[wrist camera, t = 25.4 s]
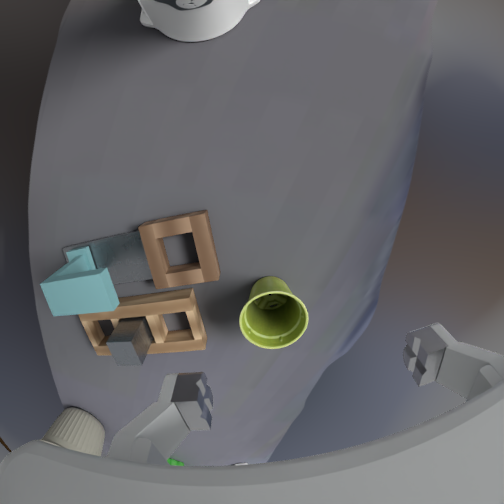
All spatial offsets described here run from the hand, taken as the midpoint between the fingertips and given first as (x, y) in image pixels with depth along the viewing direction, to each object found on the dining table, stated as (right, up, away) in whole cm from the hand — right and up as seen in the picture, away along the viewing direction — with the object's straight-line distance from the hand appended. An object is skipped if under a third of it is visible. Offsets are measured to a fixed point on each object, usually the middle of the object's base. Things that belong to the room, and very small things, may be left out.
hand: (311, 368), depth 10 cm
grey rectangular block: (-22, -8, +37) cm, 44 cm away
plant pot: (+1, -2, +36) cm, 36 cm away
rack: (-22, -8, +37) cm, 44 cm away
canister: (-49, -43, +49) cm, 82 cm away
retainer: (-26, +2, +32) cm, 42 cm away
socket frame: (-21, +4, +33) cm, 40 cm away
